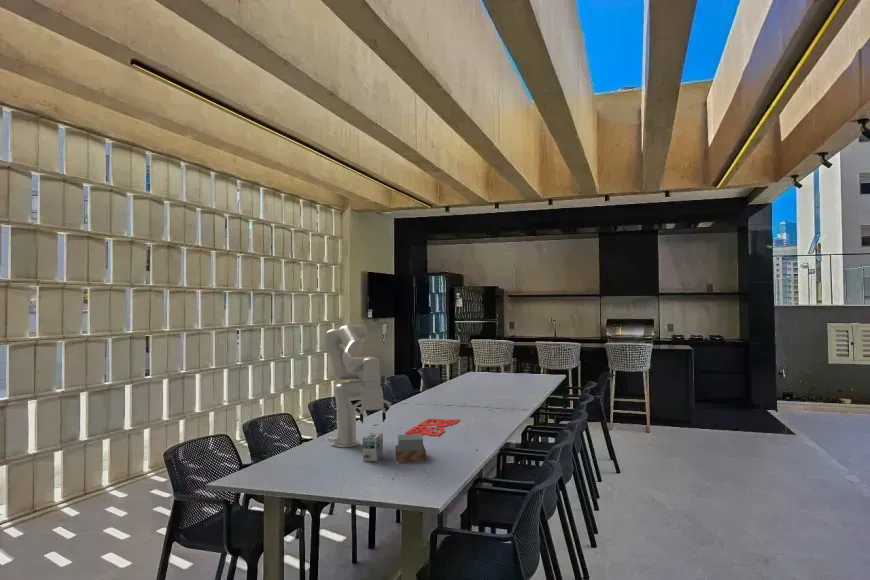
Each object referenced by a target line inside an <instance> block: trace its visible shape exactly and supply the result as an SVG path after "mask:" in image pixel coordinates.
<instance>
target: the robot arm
mask: <svg viewBox="0 0 870 580" xmlns="http://www.w3.org/2000/svg"><path fill="white" fill-rule="evenodd" d="M366 339H368V330H367V328H366V326H365V325H363V324H345V325H342V326H340V328H339V327H338V328H332V329H328V330H327V331H326V332H325V335H324V343H325V347H326V349H327V352H328V353H329V356H330V359H331V364H332V369H333V375H334V378H335V380H336V381H339V383H338V384H336V385H335V386H334V396H335V403H336V405H335V406H336V434H337V435H336V436H334V437H328V440H327V441H328V442H331V443H333V442H334V443H333V445H334V447H336V448H352V447H353V448H354V447H356V446H359V445H360V441H359V440H357V416H356V414H357V413H358V415H359V422H361V424H364V411H377V410H379V411H380V410H381V413H382V415H381V417H382V423H384V422H385V421H386V419H387V417H386V416H387V415H386V413H387V412H388V411H389V409H390V408H391V405H392V402H390V401H388V400H386V399H384V393H383V392H384V391H383V388H382V386H381V375H380V374H381V371H380V370H381V369H380V360H379V358H378V357H374V356H369V355H367V356H355V355H358V354H359V353H360V352H361V350H363V347H364V343H363V342H364V341H366ZM340 345H343V346H344V348H343V347H342V346H340ZM353 356H354V357H353ZM351 401H357V402H356V403H354V404H353V402H351ZM385 404H386V407H384V405H385ZM358 406H360V407H361V408H360V409H359V407H358Z"/></svg>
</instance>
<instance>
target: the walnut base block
mask: <svg viewBox="0 0 870 580" xmlns="http://www.w3.org/2000/svg"><path fill="white" fill-rule="evenodd" d="M395 459H396V460H397V461H396V463H397V462H405V463H416V462H415V461H423V462H427V450H426V447H425V445H424V444H423V451H402V452H399V448H398V445H397V444H396V445H395Z"/></svg>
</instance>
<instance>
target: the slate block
mask: <svg viewBox="0 0 870 580" xmlns="http://www.w3.org/2000/svg"><path fill="white" fill-rule="evenodd" d="M397 440H398V441H397V444H398V448H399V452H402V451H423V445H424V438H423V435H422V434H398V435H397Z"/></svg>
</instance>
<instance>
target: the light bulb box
mask: <svg viewBox="0 0 870 580" xmlns="http://www.w3.org/2000/svg"><path fill="white" fill-rule="evenodd" d="M383 437H384V434H383V432H368V433H367V434H366V435H364V436H363V437H362V461H363V462H371V461H376V462H378V461H379V460H381V459H382V458H383V457H384V443H383V442H384V438H383ZM381 457H382V458H381ZM376 462H375V463H376Z"/></svg>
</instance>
